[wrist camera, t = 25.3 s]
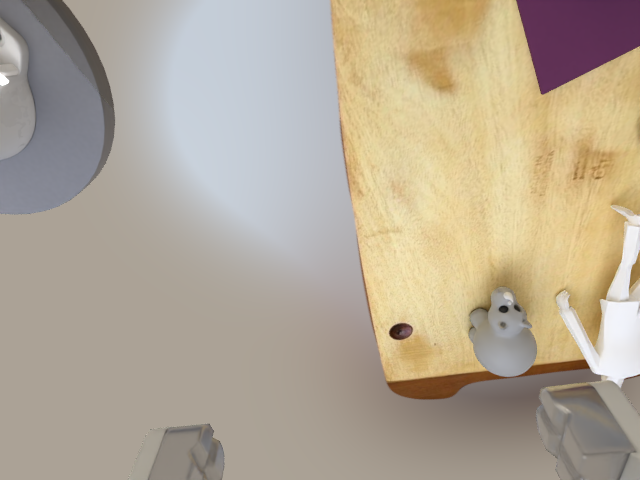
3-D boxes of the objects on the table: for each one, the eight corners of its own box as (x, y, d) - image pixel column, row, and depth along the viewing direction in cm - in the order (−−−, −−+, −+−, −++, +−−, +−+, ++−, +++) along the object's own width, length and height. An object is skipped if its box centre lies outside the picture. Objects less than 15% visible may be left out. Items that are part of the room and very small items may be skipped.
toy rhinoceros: (527, 265, 50) (561, 314, 43) (514, 335, 56) (542, 387, 49) (467, 271, 50) (491, 320, 43) (461, 339, 57) (481, 391, 50)
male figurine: (569, 201, 47) (541, 369, 57) (601, 220, 42) (564, 403, 52) (691, 191, 46) (641, 363, 57) (742, 209, 41) (676, 397, 51)
